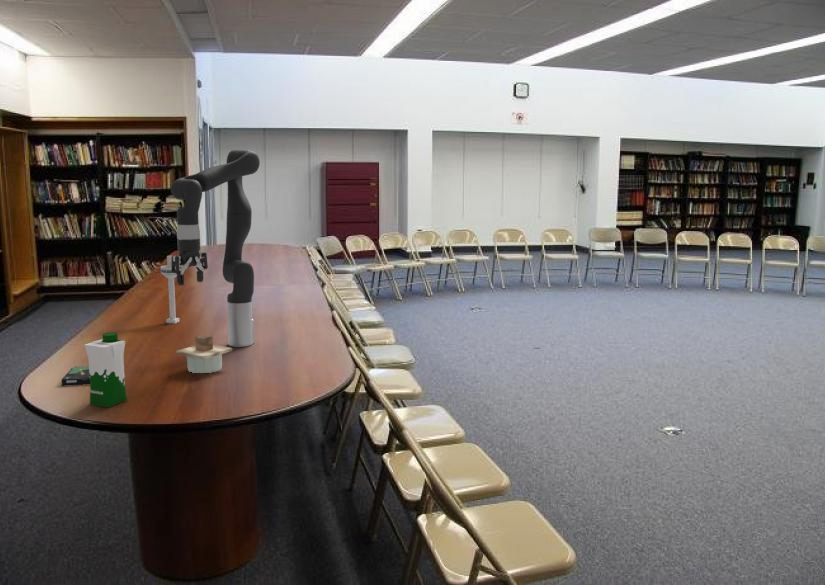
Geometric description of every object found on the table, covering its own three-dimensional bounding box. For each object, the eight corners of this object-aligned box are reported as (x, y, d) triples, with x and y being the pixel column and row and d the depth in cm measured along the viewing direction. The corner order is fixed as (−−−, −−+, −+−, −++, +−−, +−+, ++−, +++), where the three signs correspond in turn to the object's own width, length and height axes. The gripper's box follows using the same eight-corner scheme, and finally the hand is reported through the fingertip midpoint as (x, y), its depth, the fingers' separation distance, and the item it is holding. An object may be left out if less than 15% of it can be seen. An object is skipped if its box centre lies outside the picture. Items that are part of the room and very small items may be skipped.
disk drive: (97, 386, 210) (106, 372, 225) (97, 377, 210) (106, 364, 224) (61, 388, 208) (72, 373, 222) (61, 379, 207) (72, 365, 221)
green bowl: (205, 363, 236) (204, 346, 235) (228, 367, 230) (227, 351, 229) (180, 370, 226) (180, 353, 225) (204, 375, 221) (203, 358, 220)
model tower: (185, 320, 303) (183, 255, 298) (177, 324, 295) (174, 257, 289) (168, 320, 303) (165, 254, 298) (159, 323, 295) (156, 256, 290)
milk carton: (131, 399, 196) (128, 333, 193) (108, 409, 188) (103, 340, 185) (108, 395, 199) (104, 330, 196) (84, 405, 191) (79, 337, 188)
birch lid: (205, 345, 236) (204, 330, 235) (232, 350, 230) (231, 335, 229) (175, 353, 225) (175, 337, 224) (203, 359, 219) (203, 343, 218)
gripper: (196, 235, 239) (198, 279, 242) (164, 238, 227) (167, 285, 230) (211, 236, 236) (213, 281, 239) (180, 239, 223) (182, 287, 226)
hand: (190, 283), depth 234 cm, fingers open, 8 cm apart
